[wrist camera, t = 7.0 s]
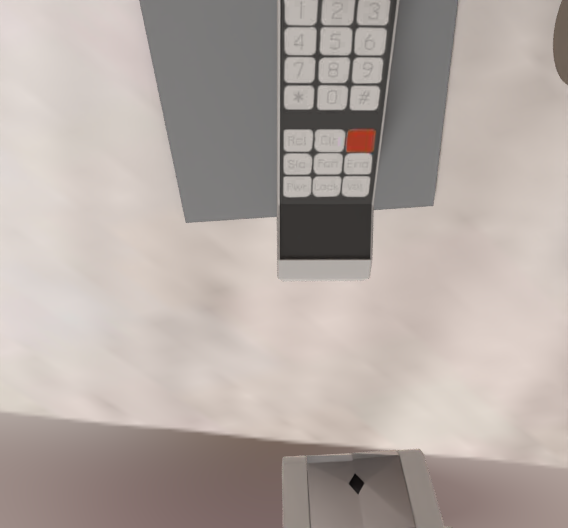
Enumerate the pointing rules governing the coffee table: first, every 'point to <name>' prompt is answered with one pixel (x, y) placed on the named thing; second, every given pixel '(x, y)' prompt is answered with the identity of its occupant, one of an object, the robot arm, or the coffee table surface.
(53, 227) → the coffee table surface
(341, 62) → the vintage mobile phone
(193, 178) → the mat
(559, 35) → the figurine character
